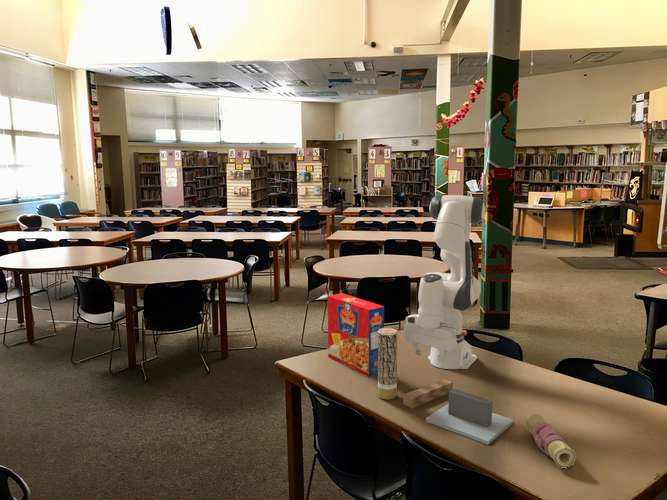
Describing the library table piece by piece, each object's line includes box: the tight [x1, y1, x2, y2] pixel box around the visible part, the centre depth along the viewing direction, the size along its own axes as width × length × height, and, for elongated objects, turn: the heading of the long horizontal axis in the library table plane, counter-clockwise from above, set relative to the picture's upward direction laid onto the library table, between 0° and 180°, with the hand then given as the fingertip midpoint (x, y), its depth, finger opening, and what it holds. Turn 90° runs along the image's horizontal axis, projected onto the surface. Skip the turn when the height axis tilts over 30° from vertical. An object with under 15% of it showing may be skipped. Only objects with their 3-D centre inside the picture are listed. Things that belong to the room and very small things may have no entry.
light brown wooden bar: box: [402, 378, 454, 409], centre depth 190 cm, size 22×4×4 cm, turn 128°
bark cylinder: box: [377, 327, 398, 401], centre depth 189 cm, size 7×7×25 cm
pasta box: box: [327, 292, 385, 378], centre depth 220 cm, size 28×8×28 cm, turn 36°
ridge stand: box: [425, 388, 514, 446], centre depth 171 cm, size 22×18×9 cm
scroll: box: [524, 413, 577, 469], centre depth 153 cm, size 8×8×20 cm
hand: (429, 357), depth 187 cm, fingers open, 8 cm apart
